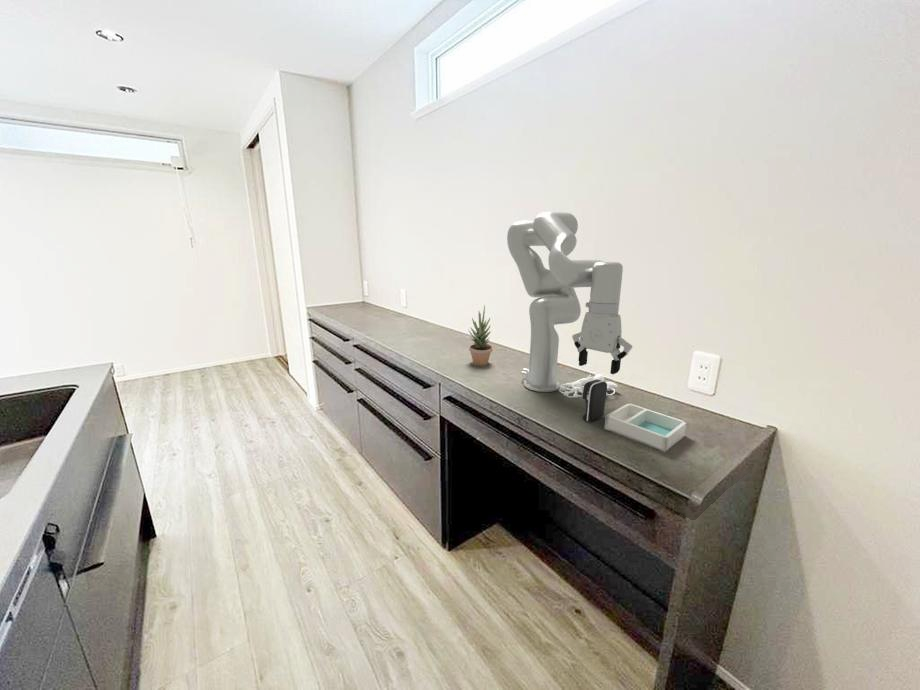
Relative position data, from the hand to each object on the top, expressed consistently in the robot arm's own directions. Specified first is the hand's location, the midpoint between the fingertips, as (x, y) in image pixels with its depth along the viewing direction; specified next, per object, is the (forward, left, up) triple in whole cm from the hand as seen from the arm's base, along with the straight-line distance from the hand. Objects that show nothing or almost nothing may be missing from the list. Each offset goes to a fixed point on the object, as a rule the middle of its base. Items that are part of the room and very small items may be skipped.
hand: (598, 368), depth 108 cm
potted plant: (-58, +10, -16) cm, 60 cm away
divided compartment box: (+13, +3, -15) cm, 21 cm away
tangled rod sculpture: (-11, +17, -16) cm, 26 cm away
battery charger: (-1, 0, -16) cm, 16 cm away
